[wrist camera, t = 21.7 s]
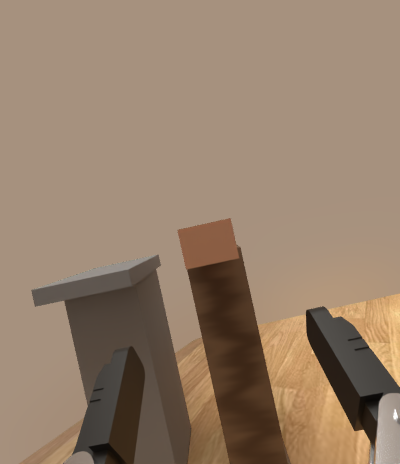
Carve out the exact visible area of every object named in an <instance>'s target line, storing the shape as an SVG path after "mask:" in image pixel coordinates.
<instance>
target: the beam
mask: <svg viewBox="0 0 400 464" xmlns="http://www.w3.org/2000/svg"><path fill="white" fill-rule="evenodd" d="M178 235H179V239H180V244H181V248H182V253H183V257H184V262H185V266H186V269H191V268H196V267H200V266H205V265H210V264H214V263H219V262H224V261H228V260H233V259H238V258H239V255H238V250H237V246H236V241H235V236H234V232H233V227H232V223H231V219H230V218H229V219H225V220H220V221H216V222H211V223H207V224H202V225H198V226H193V227H189V228H184V229H179V230H178Z"/></svg>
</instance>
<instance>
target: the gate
mask: <svg viewBox="0 0 400 464" xmlns="http://www.w3.org/2000/svg"><path fill="white" fill-rule="evenodd" d="M236 246H237V250H238V255H239V258H238V259H233V260H228V261H224V262H219V263H214V264H210V265H205V266H200V267H196V268H191V269H187V271H188V275H189V279H190V284H191V289H192V293H193V298H194V302H195V307H196V311H197V316H198V320H199V325H200V329H201V333H202V339H203V343H204V348H205V352H206V357H207V361H208V366H209V370H210V375H211V379H212V384H213V388H214V393H215V398H216V402H217V407H218V411H219V416H220V420H221V425H222V429H223V434H224V438H225V443H226V447H227V452H228V456H229V461H230V464H291V463H290V460H289V457H288V454H287V451H286V448H285V445H284V442H283V439H282V435H281V430H280V426H279V421H278V417H277V412H276V408H275V403H274V398H273V394H272V389H271V385H270V380H269V376H268V371H267V367H266V362H265V358H264V353H263V348H262V344H261V339H260V335H259V330H258V326H257V321H256V317H255V312H254V307H253V303H252V298H251V294H250V289H249V285H248V281H247V276H246V271H245V267H244V262H243V257H242V253H241V248H240V247H239V246H238V245H236Z"/></svg>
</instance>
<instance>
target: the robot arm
mask: <svg viewBox="0 0 400 464" xmlns="http://www.w3.org/2000/svg"><path fill="white" fill-rule="evenodd" d="M306 329H307V337H308V340H309V343H310V345H311V347H312V349H313V351H314V353H315V355H316V357H317V359H318V361H319V363H320V365H321V367H322V369H323V371H324V373H325V374H326V376H327V378H328V380H329V382H330V384H331V386H332V388H333V390H334V392H335V394H336V396H337V398H338V400H339V402H340V404H341V406H342V407H343V409H344V411H345V413H346V415H347V417H348V419H349V421H350V423H351V425H352V427H353V429H354V431H358V430H364V431H365V433H366V434H367V436H368V438H369V440H370V449H369V462H368V464H400V387H399V386H398V385H397V383H396V382H395V381H394V379H393V378H392V377H391V375H390V374H389V373H388V371H387V370H386V369H385V367H384V366H383V364H382V363H381V362H380V360H379V359H378V358H377V356H376V355H375V354H374V352H373V351H372V350H371V349H370V348H369V346H368V344H367V343H366V342H365V340H364V339H362V336H361V335H360V334H359V332H358V331H357V330H356V328H355V327H354V326H353V325H352V324H351V323H349V322H348V321H347V320H345V319H344V318H342V317H336V318H333V317H332V316H331V314H330V313H329V311H328V310H327V309H326V308H325V307H318V308H314V309H309V310H307V311H306ZM144 383H145V370H144V366H143V364H142V362H141V360H140V358H139V356H138V355H137V353H136V351H135V349H134V348H133V347H132V346H129V347H124V348H120V349H116V350H115V351H114V352H113V355H112V359H111V363H110V364H105V365H104V366H103V368H102V370H101V371H100V373H99V374H98V376H97V378H96V381H95V385H94V388H93V393H92V394H91V398H90V403H89V404H88V408H87V411H86V414H85V417H84V421H83V424H82V427H81V431H80V434H79V437H78V440H77V444H76V447H75V449H74V452H73V454H72V456H70V457H69V458H68V459H67V460H66V461H65V462H64V463H63V464H134V458H135V451H136V443H137V436H138V428H139V420H140V413H141V405H142V398H143V390H144Z"/></svg>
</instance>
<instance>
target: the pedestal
mask: <svg viewBox="0 0 400 464" xmlns="http://www.w3.org/2000/svg"><path fill="white" fill-rule="evenodd" d="M160 265H161V264H160V260H159V255H154V256H150V257H146V258H141V259H136V260H132V261H127V262H122V263H118V264H113V265H109V266H104V267H99V268H95V269H92V270H89V271H86V272H83V273H80V274H77V275H75V276H72V277H68V278H66V279H63V280H60V281H57V282H54V283H51V284H48V285H45V286H42V287H39V288H36V289H34V290H32V295H33V300H34V304H35V306H40V305H45V304H50V303H54V302H59V301H65V306H66V310H67V315H68V319H69V323H70V328H71V333H72V337H73V342H74V346H75V351H76V355H77V359H78V364H79V369H80V373H81V378H82V382H83V386H84V391H85V395H86V399H87V404H89V403H90V398H91V394H92V393H93V388H94V385H95V381H96V378H97V376H98V374H99V373H100V371H101V370H102V368H103V366H104V365H105V364H110V363H111V359H112V355H113V352H114V351H115V350H116V349H120V348H124V347H129V346H132V347H133V348H134V349H135V351H136V353H137V355H138V356H139V358H140V360H141V362H142V364H143V366H144V370H145V383H144V390H143V398H142V405H141V413H140V420H139V428H138V436H137V443H136V451H135V458H134V464H187V462H188V453H189V443H190V434H191V425H190V420H189V416H188V411H187V407H186V402H185V398H184V393H183V389H182V384H181V380H180V375H179V371H178V366H177V362H176V357H175V353H174V348H173V344H172V339H171V335H170V330H169V326H168V321H167V317H166V312H165V308H164V303H163V298H162V294H161V289H160V285H159V280H158V276H157V272H156V268H158V267H159V266H160Z"/></svg>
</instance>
